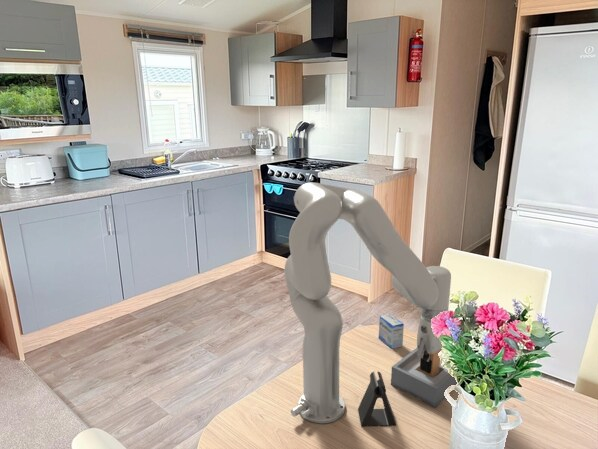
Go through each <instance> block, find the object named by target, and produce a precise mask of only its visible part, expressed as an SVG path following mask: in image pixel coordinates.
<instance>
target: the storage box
mask: <svg viewBox="0 0 598 449" xmlns="http://www.w3.org/2000/svg"><path fill="white" fill-rule="evenodd" d="M441 350H442V348H441ZM417 352H418V348H417V347H416V348H415V349H413V350H412V351H411V352H409V353H408V354H406V355H405V356H404V357H402V358H401V359H400V360H399V361H397V362H395V363H394V364H393V365H392V366H391V377H390V378H391V379H390V385H391V386H393V387H395V388H397V389H399V390H401V391H402V392H405V393H406V394H408V395H410V396H412V397H413V398H416V399H418V400H420V401H422V402H424V403H426V404H428V405H429V406H431V407H433V408H437V407H438V406H439V405H440V404H441V403H442V402H443V401H444V400H445V399H446V398H445V396H444V392H445V390H446V389H447V388H448V387H449V386H451V385H456V384H457V382H456V380H455V378H454V377H452V376H451V375H450V374H449V373H448V370H447V369H445V368H443V367H442V366H441V363H440V366H439V373H438V374H437V375H435V376H434V377H433V378H432V377H430V376H428V375H426V374H424V373H422V372H420V357H418V356H417Z"/></svg>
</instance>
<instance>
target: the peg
mask: <svg viewBox="0 0 598 449" xmlns="http://www.w3.org/2000/svg"><path fill="white" fill-rule="evenodd" d="M441 349H442V348H441ZM441 349H440V350H438V351H437V352H436V353H434V354H432V355H431V361H432V366H431V373H430V374H429V373H427V372H425V371H423V370H421V369H420V372H422V373H424V374H426V375H428V376H430V377H432V378H433V377H434V376H435V375H437V374H438V373H439V366H440V358H439V356H438V353H439V352H440V351H441ZM424 354H426V355H427V356H428V353H427V352H424ZM420 361H421V358H420Z"/></svg>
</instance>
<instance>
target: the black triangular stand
mask: <svg viewBox="0 0 598 449" xmlns="http://www.w3.org/2000/svg"><path fill="white" fill-rule="evenodd" d="M369 374H370V375H369V379H370V380H369V383H368V385H367V388H366V390H365V392H364V394H363V397H362V399H361V402H360V404H359V405H358V408H357V412H358V418H359V422H360V426H361V428H362V427H365V428H366V427H368V428H371V427H396V426H397V421H396V418H395V416H394V415H395V414H394V412H393V409H392V407H391V403H390V401H389V399H388V395H387V393H386V392H387V389H386V385H385V382H384V378H383V374H382V373H381V372H380V371H377V376H378V380H377V376H376V374H375V371H372V372H371V373H369ZM378 399H382V402H383V406H384V408H375V405H376V402H377V401H378Z"/></svg>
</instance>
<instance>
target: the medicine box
mask: <svg viewBox="0 0 598 449" xmlns="http://www.w3.org/2000/svg"><path fill="white" fill-rule="evenodd" d="M378 322H379V325H378V339H379V340H380V341H381V342H383V343H384V344H385V345H387V347H389V348H390V349H392V350H394V349H398V348H400V347H403V345H404V344H403V343H404V327H405V324H404V323H403V322H402V321H401V320H399V319H398V318H396V317H395V316H393V315H392V314H391V313H387V314H386V313H385V314H383V315H379V321H378Z"/></svg>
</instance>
